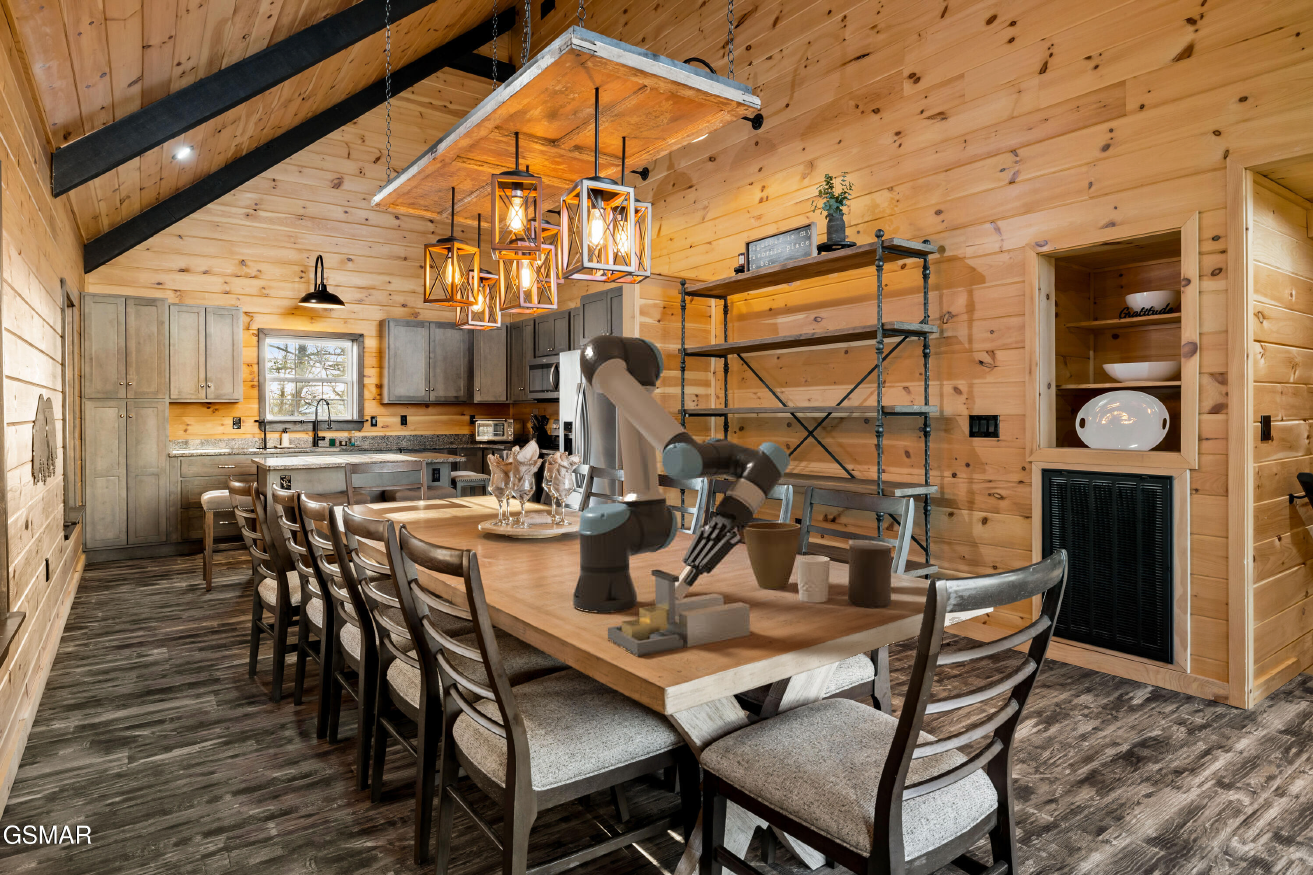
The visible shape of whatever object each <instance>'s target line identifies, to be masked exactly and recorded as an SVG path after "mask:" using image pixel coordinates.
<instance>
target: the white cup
mask: <svg viewBox="0 0 1313 875" xmlns="http://www.w3.org/2000/svg"><path fill="white" fill-rule="evenodd" d="M830 565H831V558H829V557H826V556H822V555H811V554H809V555H799V556H796V572H797V573H796V574H797V576H796V577H797V588H798V596H799V597H798V599H799V600H800V601H802V602H805V603H811V604H812V603H813V604H814V603H815V604H817V603H818V604H819V603H820V604H821V603H826V602H828V598H829V597H828V595H829V594H828V593H829V592H828V591H829V584H830V569H831V566H830Z"/></svg>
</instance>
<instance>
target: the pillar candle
mask: <svg viewBox="0 0 1313 875" xmlns="http://www.w3.org/2000/svg"><path fill="white" fill-rule="evenodd" d="M868 541H869V543H863V542H858V543H851V544H849V543H848V546H849V547H848V593H847V594H848V595H847V596H848V597H847V599H848V602H849V604H851V605H854V606H857V607H865V608H870V607H881V608H887V607H886V606H888V607H890V606H891V605H892V548H891V546H890V545H891V544H890V545H886V544H879V543H870V541H871V539H868ZM890 604H891V605H890ZM889 605H890V606H889Z"/></svg>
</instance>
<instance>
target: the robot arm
mask: <svg viewBox="0 0 1313 875" xmlns="http://www.w3.org/2000/svg"><path fill="white" fill-rule="evenodd" d="M664 365H665V364H664V357H663V353H662V352H661V350H660V349H659V347H658V346H657V345H656V344H655V343H654V342H652V341H651V340H649V339H644V338H642V337H630V336H621V335H619V336H618V335H611V334H600V335H598V336H594V337H593V338H591V339H590V340H588V342H586V343H585V344H584V346H583V348H582V350H581V353H580V355H579V367H580V371H581V373H582V376H583V377H584V379H585V381H586V382H587V383H588V384H589V386H591V388H592V389H593V391H595V392H596V393H599V394H604V395H605V396H606V397H607V399H609V400H610V402H611V403H612V404H613V405H614V406H615V407H616V408H617V412H618V422H619V423H618V424H619V436H620V446H621V448H620V450H621V459H622V471H623V473H622V474H623V482H624V495H623V496H622V498H621V499H620V500H619V502H618V503H616V502H613V503H612V502H609V503H605V504H604V503H603V504H597V505H593V506H590V507H587V508H585V509H584V510H583V511H582V512H581V513H580V517H579V525H578V526H579V527H578V532H579V567H580V568H579V571H580V573H579V576H578V580H577V582H576V586H575V589H574V592H573V595H572V606H573V605H574V606H575V607H577V608H580V609H583V610H588V611H597V612H596V613H598V612H606V613H612V612H611V611H618V612H623V611H628V610H632V609H634V608H635V607H637V606H638V594H637V591H636V588H635V584H634V581H633V578H632V575H631V572H630V557H633V556H637V555H643V554H647V553H649V554H650V553H652V554H654V553H656V552H658V551H660V550H665V549H666V548H668V547H669V546H670V545H671V544H672V542H673V541H675V538H676V536H677V533H678V528H679V525H678V524H679V523H678V516H677V513H676V512H675V511H673V507H672V506H670V505H669V504H667V497H666V495H665V494H663V493H662V492H661V490H660V487H659V484H660V483H659V482H660V481H659V474H658V461H657V459H658V458H657V452H658V453H659V454H660V455H661V456H662V457H661V464H662V466H663V470H664V473H665V474H666V475H667V476H668V477H669V478H670V479H674V480H684V481H686V480H687V481H691V480H694V479H696V480H697V479H702V478H704V479H705V478H713V477H715V478H716V477H724V476H725V477H728V478H732V479H734V480H735V481H734V482H733V483H732V484H731V486H730V487H729V488H728V490H727V491H726V492H725V494H726V495H725V496H723V497H722V498H721V500H720V501H719V503H718V504H717V506H716V507H715V509H714V511H715V517H714V518H713V519H712V520H711V521H709V524H708V525H704V524H700V525H699V526H698V527H697V531H696V534H695V536H694V538H693V540H692V542H691V543H690V545H689V547H688V549H687V551H686V553H685V554H684V557H683V559H682V562H683V563H684V564H685V567H684V568H683V570H682V571H681V573H680V574H679V575H678V576H679V582H675V600H679V601H681V600H682V599H683V598H684V597H685V596H686V595H687V593H688V592H689V590H690V589H691V588H692V586H694V584H695V583H696V581H698V578H700V576H702V575H704V573H705V574H707V575H709V574H711V572H713V570H715V568H716V567H717V566H718V565H719V564H720V563H721V562H722V560H724V558H726V556H727V555H728V554H729V553H731V551H732V550H733V549H734V548H735V547H736V546H738V545H739V544H741V543H742V541H743V538H742V537H741V535H739V532H740V531H743V530H744V529H746V527H747V526H748V524H750V523H751V522H752V520H753V518H754V515H756V514H757V513H758V511H759V510H760V508H761V507H762V505H763V504H764V503H765V501H766V499H767V498H768V497H769V495H770V494H771V492H772V491H773V490H774V489H775V487H776V486H777V485H778V483H779V481H780V480H781V479H782V478H783V477H784V474H785V473H786V471H787V469H788V468H789V466H790V464H791V459H790V457H789V453H788V452H787V451H786V450H785V449H784V448H783V447H782V446H780V445H778V444H777V443H775V442H771V441H768V442H763V443H761V445H760V446H759V447H758V448H757V449H756V448H752V447H748V446H744V445H742V444H739V443H736V442H733V441H730V440H729V439H726V438H719V437H716V436H715V437H711V438H709V439H708V440H706V441H705V442H699V441H697V439H695V438H694V437H693V436H692V435H691V434H690V433H689V432H688V431H687V430H686V429H685V428H684V427H683V426H682V425H681V424H680V423H679V421H677V420H676V419H675V418H674V416H672V415H671V414H670V413H669V412H668V411H667V410H666V409H665V408H664V407H663V406H662V404H660V403H659V402H658V401H657V400H656V398H655V397H654V396H652V395H653V394H654V393H655V391H656V390H657V382H658V381H659V380H660V379H661V377H662V376H661V375H662V374H663V372H664Z"/></svg>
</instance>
